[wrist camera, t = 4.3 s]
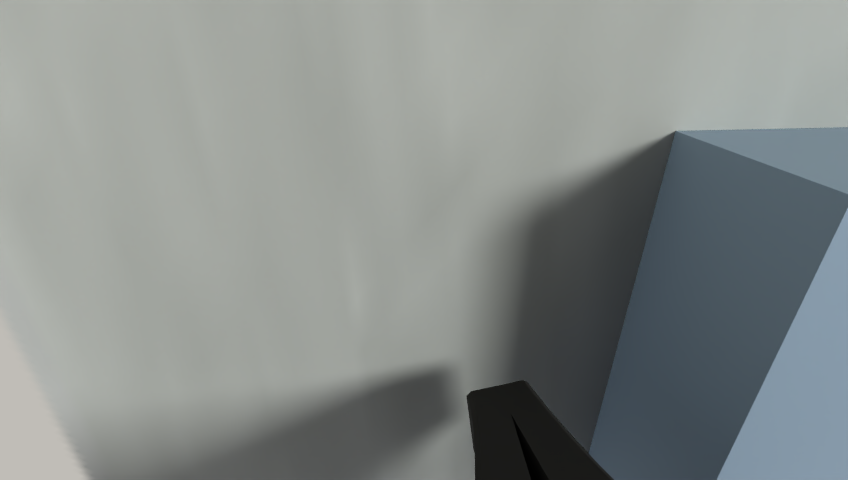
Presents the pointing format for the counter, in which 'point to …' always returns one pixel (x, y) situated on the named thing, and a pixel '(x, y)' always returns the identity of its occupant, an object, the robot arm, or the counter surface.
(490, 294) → the counter surface
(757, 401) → the block
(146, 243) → the counter surface
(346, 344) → the counter surface
